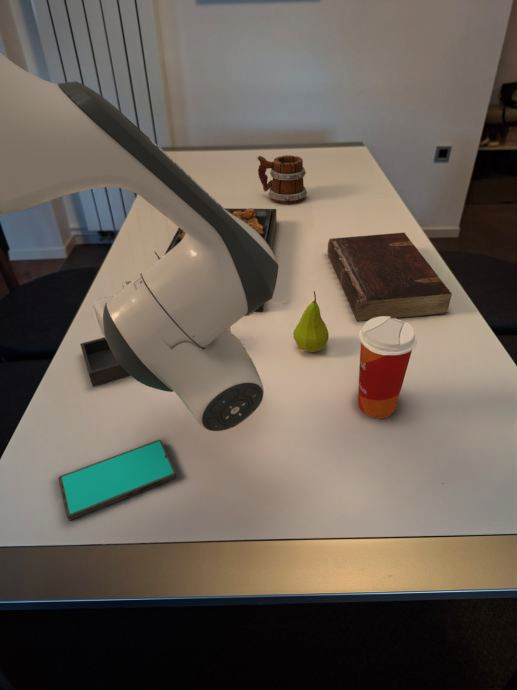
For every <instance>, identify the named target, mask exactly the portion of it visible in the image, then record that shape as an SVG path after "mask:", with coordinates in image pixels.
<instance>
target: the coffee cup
mask: <svg viewBox="0 0 517 690" xmlns="http://www.w3.org/2000/svg"><path fill="white" fill-rule="evenodd" d="M358 339H359V341H360V350H359V351H360V352H359V368H358V370H359V372H358V391H357V404H358V408H359V410H360V411H361V412H362V413H363V414H364V415H366V416H369V417H372V418H376V419H384V418H387V417H389V416H391V415H393V413H394V412H395V410H396V408H397V404H398V401H399V398H400V395H401V391H402V388H403V385H404V381H405V377H406V374H407V370H408V366H409V362H410V359H411V356H412V352H413V350H414V349H415V348H416V347H417V346H416V345H417V341H418V340H417V339H418V338H417V337H416V333H415V330H414V327H413V326H412V325H411V324H410V323H408V322H407V321H403V320H401V319H399V318H391V317H388V316H381V317H375V318H372V319H370V320H368V321H365V323H364V324H363V326H362V328H360V331H359V332H358Z"/></svg>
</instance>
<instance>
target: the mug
mask: <svg viewBox="0 0 517 690" xmlns="http://www.w3.org/2000/svg"><path fill="white" fill-rule="evenodd" d="M257 160H258V162H259V165H258V168H257V175H258V178H259V181H260V184H261V185H262V188H263V189H262V190H263V191H264V192H268V195H269V197H270V200H271V201H272V202H273V203H277V204H281V205H295V204H299V203H301V202H303V201H304V200H305V198H306V196H307V194H308V191H307V188H306V187H305V186H304V178H305V175H306V174H307V171H306V169H305V167H304V160H303V158H302V157H300V156H298V155H290V154H289V155H282V156H281V155H280V156H277V157H275V158H274V159H273V161H269V160H267V159H266V158H265V157H264V156H262V155H259V156H257ZM267 169H270V172H269V175H270V176H271V178H272V179H271V180H269V181H268V179H269V177H268V175H267V174H266V172H267Z"/></svg>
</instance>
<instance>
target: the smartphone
mask: <svg viewBox="0 0 517 690" xmlns="http://www.w3.org/2000/svg"><path fill="white" fill-rule="evenodd" d="M176 478H177V472H176V469H175V467H174V466H173V462H172V461H171V458H170V456H169V454H168V452H167V450H166V447H165V445H164V443H163V441H162V440H161V439H158V440H155V441H152V442H150V443H147V444H144V445H141V446H138V447H136V448H132V449H130V450H127V451H125V452H122V453H119V454H116V455H114V456H111V457H108V458H105V459H102V460H101V461H97V462H94V463H92V464H89V465H86V466H83V467H81V468H78V469H76V470H73V471H71V472H68V473H65V474H62V475H59V477H58V478H57V479H58V483H59V489H60V494H61V498H62V503H63V507H64V513H65V516H66V518H67V520H68V521H71V520H74V519H76V518H79V517H81V516H83V515H87V514H89V513H91V512H94V511H96V510H98V509H101V508H103V507H106V506H109V505H111V504H114V503H116V502H119V501H121V500H124V499H126V498H129V497H131V496H134V495H136V494H139V493H141V492H144V491H146V490H149V489H152V488H154V487H156V486H159V485H162V484H164V483H167V482H169V481H171V480H174V479H176Z"/></svg>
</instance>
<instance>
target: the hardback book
mask: <svg viewBox="0 0 517 690" xmlns="http://www.w3.org/2000/svg"><path fill="white" fill-rule="evenodd" d="M327 256H328V258H329V262H331V265H332V268H333V270H334V273H335V275H336V277H337V279H338V281H339V283H340V285H341V289H342V290H343V293H344V295H345V297H346V299H347V301H348V303H349V306H350V309H351V311H352V314H353V315H354V317H355V319H356V322H367V321H368V320H370V319H372V318H375V317H381V316H388V317H391V318H392V319H394V318H396V319H399V318H401V319H402V318H411V317H420V316H421V317H422V316H435V315H445V314H448V311H449V307H450V304H451V300H452V292H451V291H450V290H449V288H448V287H447V285H446V284H445V283H444V281H443V280H442V279H441V278H440V277H439V275H438V274H437V272H436V271H435V270H434V269H433V267H432V266H431V265H430V263H429V262H428V261H427V260H426V259H425V257H424V256H423V254H422V253H421V252H420V251H419V249H418V248H417V247H416V246H415V244H414V243H413V242H412V240H411V239H410V238H409V237H408V236H407V234H406V233H405V232H395V233H394V232H393V233H383V234H382V233H381V234H370V235H357V236H347V237H336V238H335V237H333V238H329V239H328V241H327Z"/></svg>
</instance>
